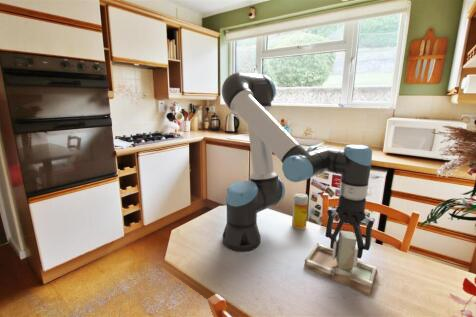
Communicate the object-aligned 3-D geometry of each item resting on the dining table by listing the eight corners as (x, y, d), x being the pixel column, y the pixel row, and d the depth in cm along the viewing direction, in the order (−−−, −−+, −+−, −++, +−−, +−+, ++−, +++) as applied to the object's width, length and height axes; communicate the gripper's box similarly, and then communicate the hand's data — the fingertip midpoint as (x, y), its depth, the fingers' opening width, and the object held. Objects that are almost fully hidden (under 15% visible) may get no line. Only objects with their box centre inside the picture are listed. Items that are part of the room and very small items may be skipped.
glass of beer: (307, 230, 106) (310, 197, 102) (293, 230, 106) (295, 197, 102) (304, 223, 112) (306, 192, 108) (290, 222, 112) (292, 192, 108)
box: (352, 271, 79) (357, 240, 76) (338, 269, 80) (342, 238, 77) (348, 260, 84) (353, 231, 81) (335, 258, 85) (339, 229, 82)
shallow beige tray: (303, 267, 84) (304, 260, 83) (317, 248, 94) (317, 242, 93) (369, 295, 72) (370, 287, 71) (376, 270, 82) (377, 263, 82)
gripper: (318, 192, 78) (312, 256, 84) (386, 208, 67) (374, 280, 73) (325, 185, 84) (319, 245, 90) (389, 199, 73) (378, 266, 79)
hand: (344, 261), depth 81 cm, fingers closed on box, 6 cm apart
